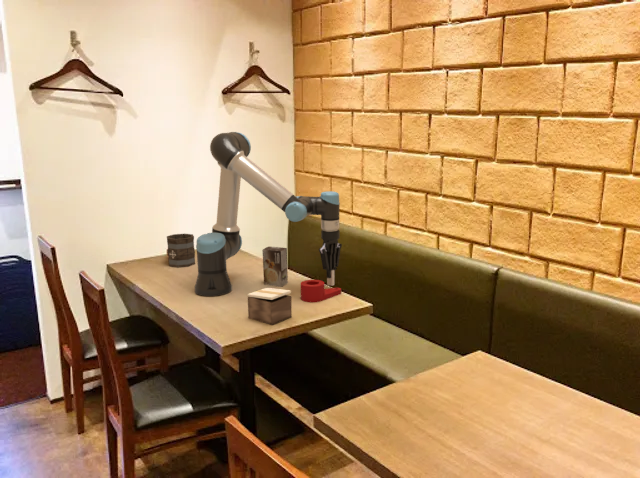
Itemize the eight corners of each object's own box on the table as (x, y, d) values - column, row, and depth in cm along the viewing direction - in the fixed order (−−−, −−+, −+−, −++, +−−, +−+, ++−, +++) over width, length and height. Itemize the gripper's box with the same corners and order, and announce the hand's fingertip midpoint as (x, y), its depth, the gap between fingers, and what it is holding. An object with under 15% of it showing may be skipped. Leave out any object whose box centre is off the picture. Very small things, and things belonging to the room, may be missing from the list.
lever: (308, 304, 219) (308, 287, 218) (296, 297, 227) (296, 282, 226) (346, 296, 228) (346, 280, 227) (334, 290, 236) (334, 275, 235)
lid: (247, 296, 203) (247, 294, 203) (266, 289, 211) (266, 287, 210) (271, 299, 195) (271, 297, 195) (290, 292, 203) (290, 290, 203)
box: (248, 317, 205) (247, 296, 203) (267, 310, 212) (267, 289, 211) (272, 325, 197) (271, 303, 196) (291, 317, 205) (291, 296, 203)
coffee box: (288, 283, 246) (287, 247, 242) (282, 287, 240) (281, 251, 236) (269, 281, 249) (268, 246, 245) (263, 285, 243) (261, 249, 240)
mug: (201, 266, 274) (199, 236, 271) (175, 272, 266) (173, 240, 262) (182, 259, 289) (180, 230, 286) (157, 264, 280) (155, 234, 277)
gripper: (327, 233, 224) (328, 290, 229) (347, 228, 234) (347, 282, 239) (313, 231, 229) (313, 286, 234) (332, 226, 239) (333, 279, 244)
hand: (330, 284), depth 237 cm, fingers closed
